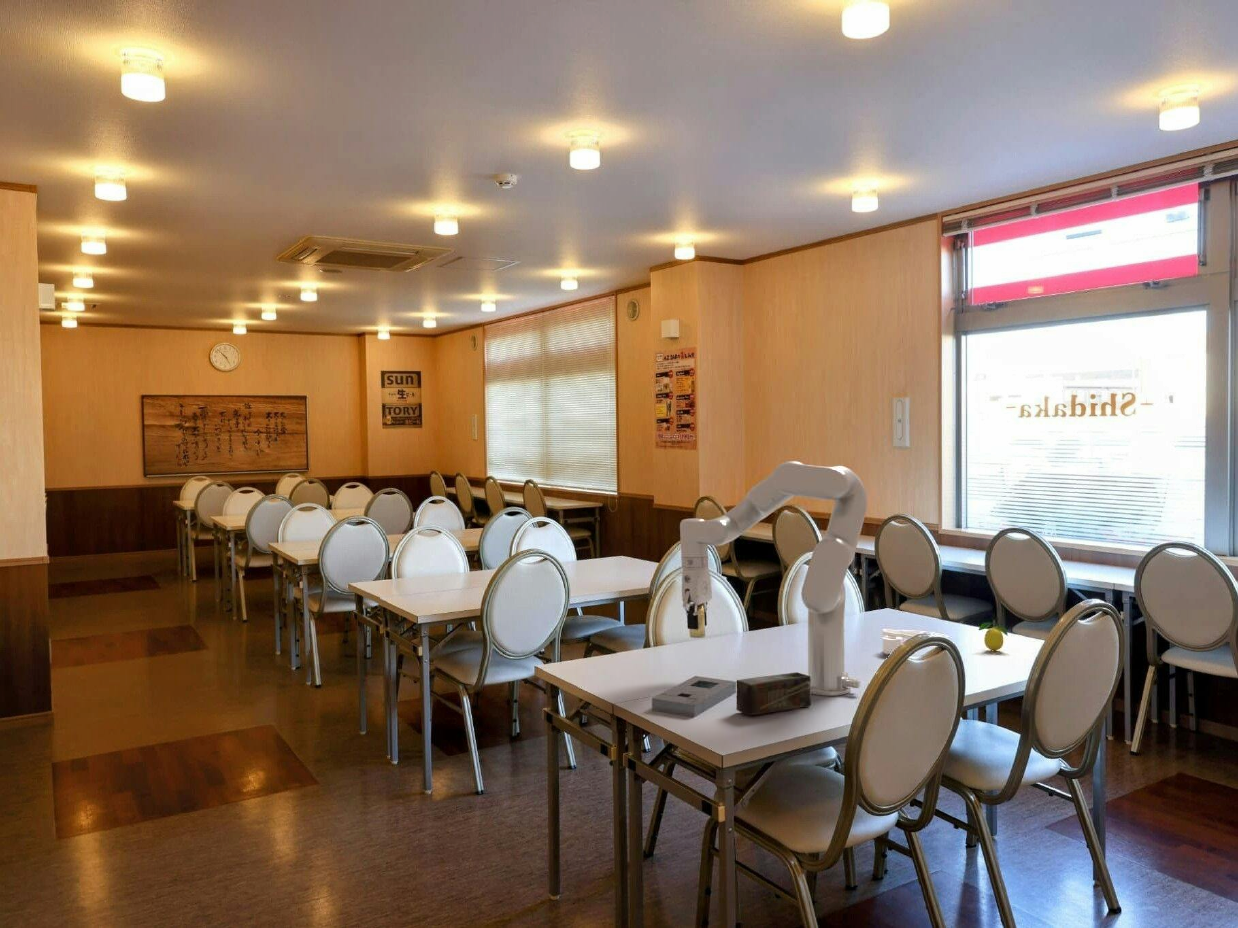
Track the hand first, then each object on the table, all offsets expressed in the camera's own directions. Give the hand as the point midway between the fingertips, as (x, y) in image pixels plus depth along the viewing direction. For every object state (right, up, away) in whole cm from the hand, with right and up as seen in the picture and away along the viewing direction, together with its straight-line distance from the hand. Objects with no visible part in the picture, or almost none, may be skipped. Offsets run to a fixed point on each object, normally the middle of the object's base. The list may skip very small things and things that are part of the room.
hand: (697, 626), depth 258 cm
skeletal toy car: (+68, -13, +21) cm, 72 cm away
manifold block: (-2, -15, -22) cm, 27 cm away
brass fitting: (0, -3, 0) cm, 3 cm away
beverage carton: (+8, -17, -33) cm, 38 cm away
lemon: (+94, -13, +26) cm, 98 cm away
